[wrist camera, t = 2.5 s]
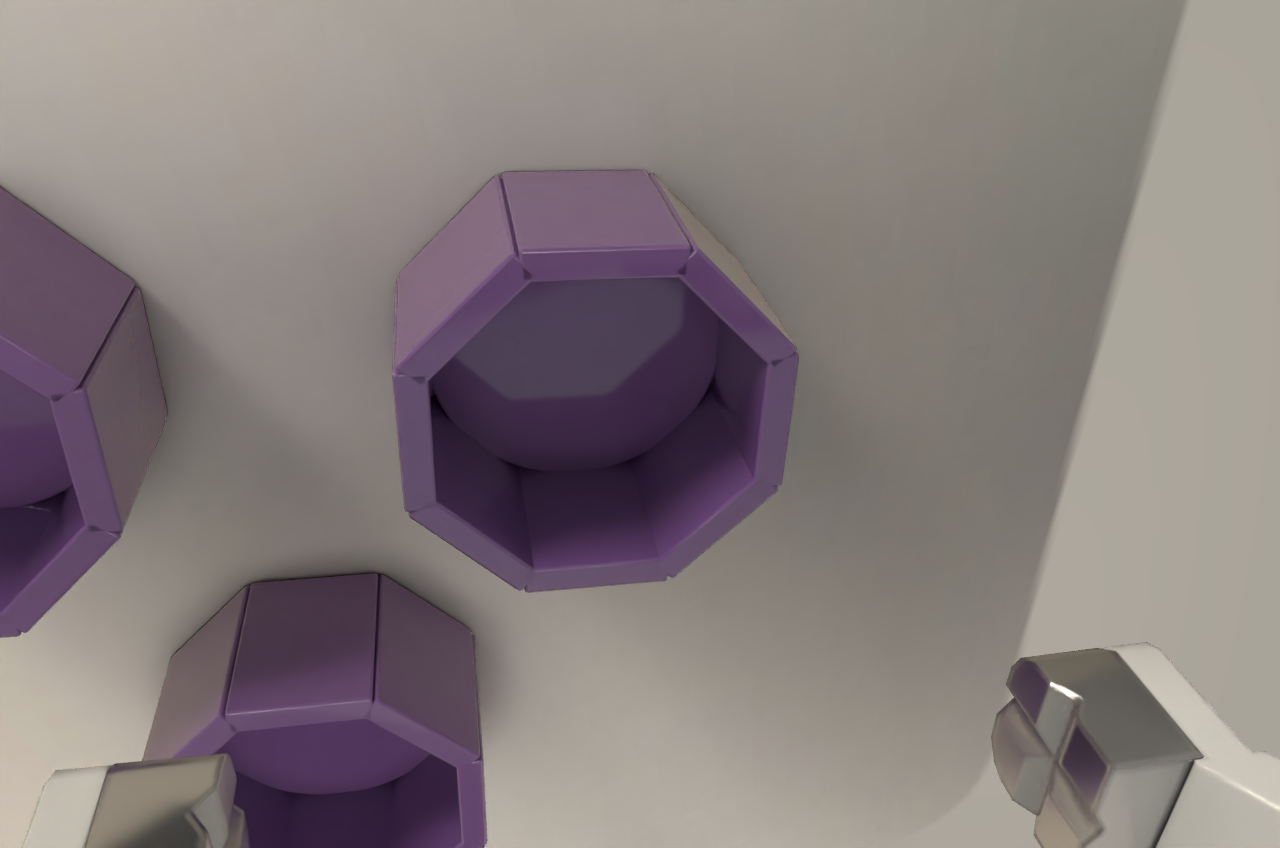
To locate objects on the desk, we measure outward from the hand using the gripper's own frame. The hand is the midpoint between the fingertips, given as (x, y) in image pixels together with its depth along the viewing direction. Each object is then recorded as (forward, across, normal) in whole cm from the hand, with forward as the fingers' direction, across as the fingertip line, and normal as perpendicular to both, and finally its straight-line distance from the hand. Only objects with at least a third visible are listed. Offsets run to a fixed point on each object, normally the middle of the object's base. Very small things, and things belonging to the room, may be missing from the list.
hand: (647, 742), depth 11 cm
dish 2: (+9, +4, +8) cm, 13 cm away
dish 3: (+9, -1, 0) cm, 9 cm away
